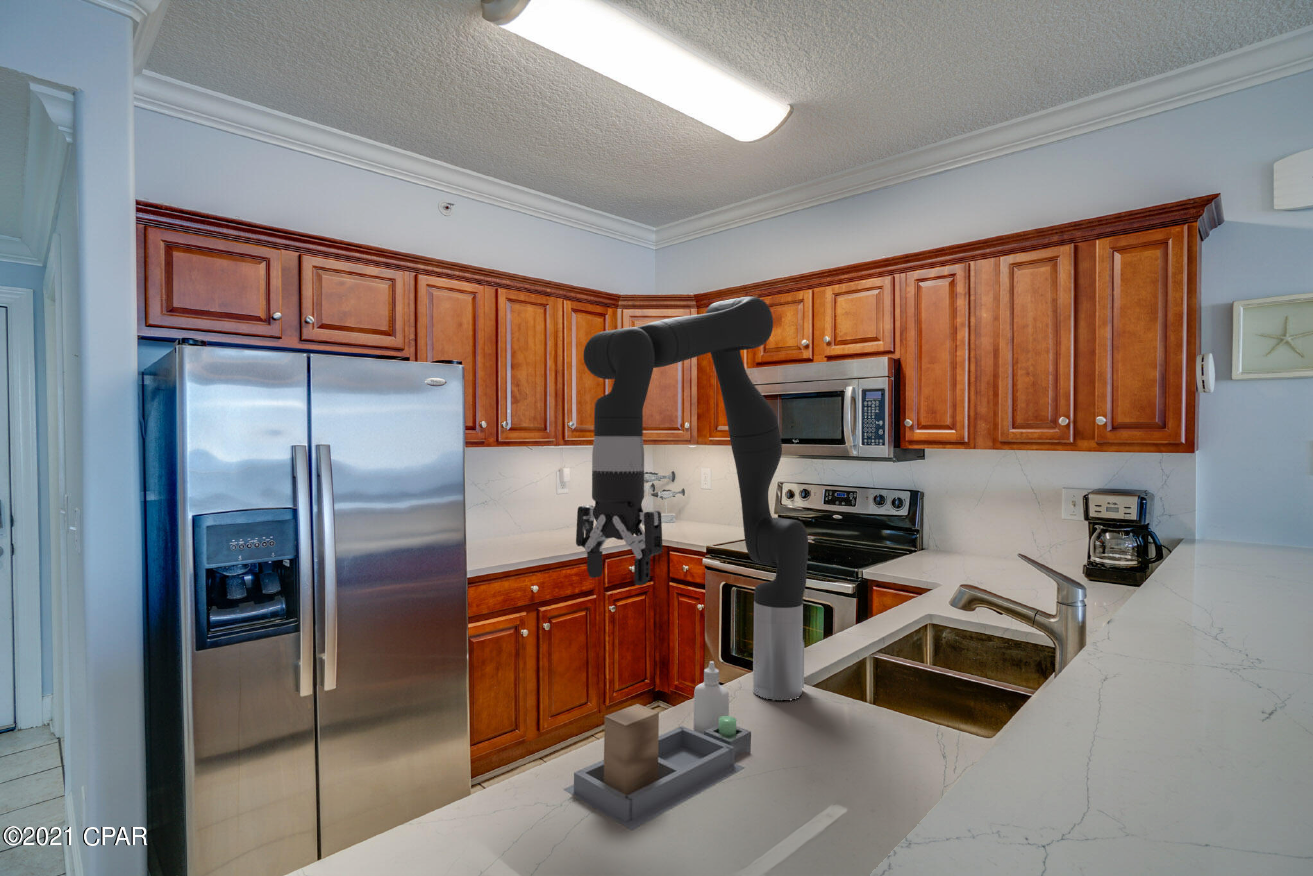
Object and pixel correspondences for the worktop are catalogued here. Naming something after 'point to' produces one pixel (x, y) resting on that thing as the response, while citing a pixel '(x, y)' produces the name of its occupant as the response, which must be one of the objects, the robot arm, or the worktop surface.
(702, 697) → the eye dropper bottle
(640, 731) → the walnut block
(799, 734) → the worktop surface
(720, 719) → the button
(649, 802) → the tray
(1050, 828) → the worktop surface
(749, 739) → the button box
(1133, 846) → the worktop surface
